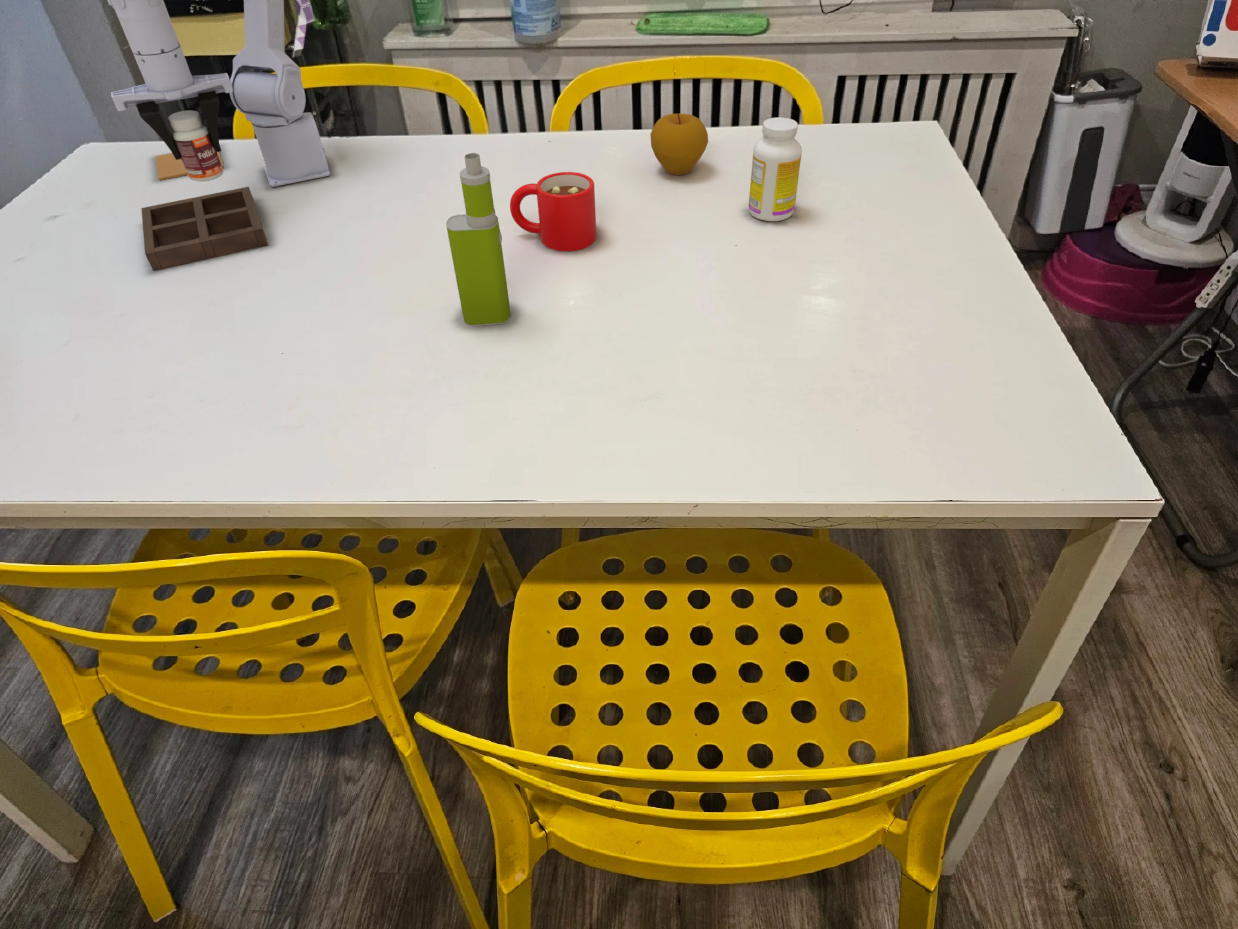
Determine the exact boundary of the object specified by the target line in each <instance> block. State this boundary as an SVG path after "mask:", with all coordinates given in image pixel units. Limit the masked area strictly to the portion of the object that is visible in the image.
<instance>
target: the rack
mask: <svg viewBox="0 0 1238 929" xmlns="http://www.w3.org/2000/svg"><path fill="white" fill-rule="evenodd" d="M140 210H141V220H142V221H141V222H142V232H143V244H144V245H143V246H144V255H145V257H146V259H147V262H148V263H149V265H150V267H151V269H152V271H159V270H162V269H167V268H172V267H176V266H181V265H185V264H190V263H195V262H198V261H203V260H208V259H212V258H216V257H221V256H225V255H231V254H234V253H240V252H243V251H248V250H252V249H258V248H262V247H267V246H269V242H268V239H267V237H266V234H265V230H264V226H263V223H262V221H261V218H260V215H259V211H258V208H257V205H256V201H255V198H254V196H253V194H252V191H251V188H250V186H245V187H244V186H243V187H239V188H235V189H234V188H233V189H230V190H224V191H220V192H215V193H209V194H205V195H200V196H195V197H190V198H185V199H181V200H175V201H169V202H164V203H160V204H154V205H150V206H146V207H141V209H140Z"/></svg>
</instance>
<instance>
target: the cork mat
mask: <svg viewBox="0 0 1238 929" xmlns="http://www.w3.org/2000/svg"><path fill="white" fill-rule="evenodd" d="M220 152H221V151H220ZM220 152H217V154H218V157H219V160H220V162H221V165H222V168H223V169H224V168H225V167H224V163H223V160H222V157H221V153H220ZM155 161H156V169H157V177H158V180H159V181H165V180H171V179H175V178H180V177H184V176H188V174H187V172H186V169H185V166H184V164H183V162H182V159H179V160H176V159H175V157H174V155H173V154H172V152H170V153H166V154H161V155H156V156H155Z"/></svg>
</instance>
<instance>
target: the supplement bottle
mask: <svg viewBox="0 0 1238 929" xmlns="http://www.w3.org/2000/svg"><path fill="white" fill-rule="evenodd" d="M798 128H799V124H798V122H797V121H796V120H794V119H792V118H788V117H780V116H779V117H770V118H767V119H765V120H764V121H763V123H762V128H761V129H762V130H761V132H762V137H761V138H760V139H758V140H757V141H756V142H755V144H754V146H753V150H752V151H753V152H752V160H751V161H752V163H751V173H750V174H751V175H750V184H749V193H748V194H749V196H748V211H749V214H750V215H751V216H752V217H754V218H755V219H758V220H760V221H764V222H780V221H784V220H787V219H789V218H790V217H791V216H792V215H793V214H794V213H795V206H796V199H797V193H798V192H797V191H798V185H799V176H800V168H801V161H802V152H803V150H802V149H803V148H802V145H801V144H800V142H799V140H797V139H795V138H796V137H797V134H798Z"/></svg>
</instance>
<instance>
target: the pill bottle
mask: <svg viewBox="0 0 1238 929" xmlns="http://www.w3.org/2000/svg"><path fill="white" fill-rule="evenodd" d="M167 120H168V122H169V125H170V127H171V129H172V133H171V135H172V137H173V140H174V142H175V144H176V147H177V149H178V152H179V154H180V156H181V159H182V162H183V164H184V166H185V169H186V172H187V174H188V175H187V176H188V178H189V179H190V180H191V181H194V182H198V183H199V182H201V183H202V182H210V181H213V180H216V179H218V178H220V177H221V176H222V175H223V174H224V168H222V165H221V162H220V160H219V157H218V154H217V152H216V150H215V147H214V144H213V141H212V138H211V134H210V130H209V128H208V126H206V125H203V124H204V122H203V119H202V116H201V114H200V113H199V111H197V110H191V109H189V110H180V111H177V112H174V113H171V114H170V115H169V116H168V117H167Z"/></svg>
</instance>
